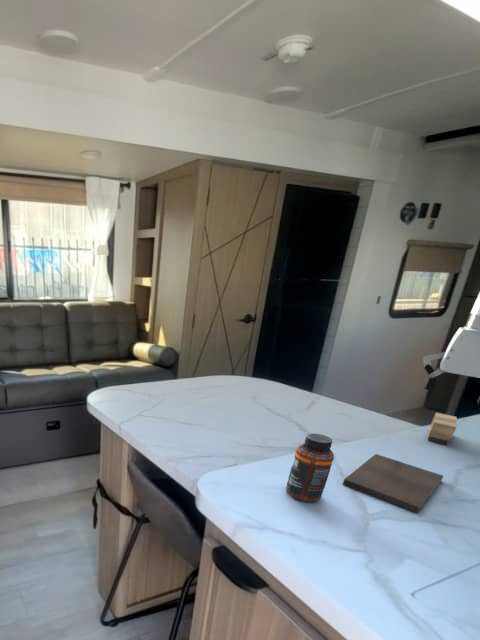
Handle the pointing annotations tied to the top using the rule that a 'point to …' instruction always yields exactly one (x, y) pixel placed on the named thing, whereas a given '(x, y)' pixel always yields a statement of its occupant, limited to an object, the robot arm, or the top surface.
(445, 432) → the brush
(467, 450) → the top surface
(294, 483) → the supplement bottle
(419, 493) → the board
